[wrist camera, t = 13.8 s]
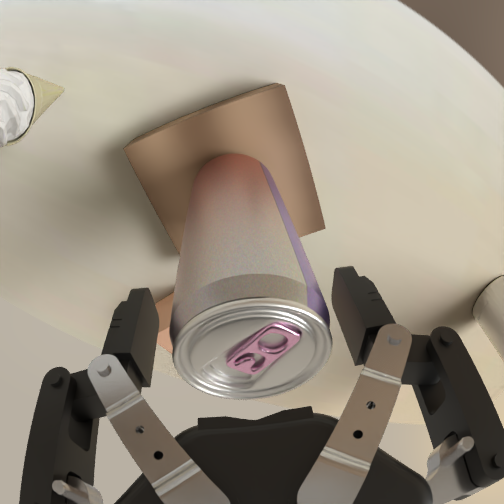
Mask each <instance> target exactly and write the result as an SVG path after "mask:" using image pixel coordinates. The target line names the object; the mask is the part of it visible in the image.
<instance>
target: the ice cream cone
mask: <svg viewBox="0 0 504 504" xmlns="http://www.w3.org/2000/svg"><path fill="white" fill-rule="evenodd" d="M63 91H64V88H63V87H60V86H58V85H55V84H53V83H50V82H48V81H45V80H43V79H40V78H38V77H35V76H32V75H29V74H26V73H25V72H24V71H22V70H21V69H18V68H15V67H8V68H0V147H3V146H9V145H13V144H15V143H17V142H19V141H20V140H21V139H22V138H23V137H24V136H25V135H26V134H27V133H28V131H29V129H30V127H31V125H32V124H34V122H35V121H36V120H37V119H38V118H39V117H40V116H41V115H42V113H43V112H44V111H45V110H46V109H47V108H48V107H49V106H50V105H51V104H52V103H53V102H54V101H55V100H56V99H57V98H58V97H59V96H60V95H61V94H62V93H63Z"/></svg>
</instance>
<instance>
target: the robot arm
mask: <svg viewBox="0 0 504 504" xmlns="http://www.w3.org/2000/svg"><path fill="white" fill-rule="evenodd" d="M332 305H333V309H334V311H335V314H336V316H337V319H338V321H339V324H340V327H341V329H342V332H343V334H344V337H345V340H346V342H347V345H348V348H349V350H350V353H351V356H352V358H353V361H354V364H355V366H357V365H361V364H364V366H365V367H364V369H363V370H362V372H361V374H360V377H359V379H358V381H357V383H356V386H355V388H354V390H353V392H352V394H351V396H350V398H349V401H348V403H347V405H346V407H345V409H344V411H343V413H342V415H341V417H340V419H339V420H338V419H336V418H333V417H331V416H328V415H324V414H319V413H313V411H312V407H311V406H308V407H302V408H296V409H289V410H283V411H281V412H278V413H275V414H272V415H270V416H267V417H264V418H261V419H258V420H247V419H239V418H232V417H226V416H225V417H208V418H198V425H197V426H194V427H191V428H189V429H187V430H185V431H183V432H181V433H180V434H179V435H177V436H176V437H175V438H174V437H173V436H172V435H171V434H170V432H169V431H168V430H167V429H166V427H165V426H164V425H163V424H162V422H161V421H160V420H159V418H158V417H157V416H156V414H155V413H154V412H153V410H152V409H151V408H150V406H149V405H148V403H147V402H146V401H145V399H144V398H143V397H142V395H141V389H142V387H150V385H151V378H152V370H153V363H154V357H155V350H156V344H157V337H158V331H159V315H158V312H157V309H156V306H155V303H154V301H153V298H152V295H151V292H150V290H149V288H139V289H131V291H130V294H129V297H128V300H127V301H122V302H121V303H120V304H119V306H118V307H117V308H116V309H115V311H114V314H113V317H112V321H111V324H110V328H109V330H108V333H107V337H106V340H105V343H104V347H103V350H102V354H101V355H100V356H98V357H96V358H95V359H94V360H92V362H91V363H90V364H89V367H88V369H86V370H83V371H79V372H76V373H72V374H70V373H69V371H68V370H67V369H65V368H63V367H56V368H53V369H51V370H50V371H49V372H48V373H47V374H46V375H45V377H44V379H43V382H42V385H41V389H40V393H39V396H38V400H37V404H36V408H35V412H34V416H33V421H32V425H31V430H30V435H29V439H28V444H27V450H26V456H25V462H24V468H23V476H22V483H21V491H20V501H19V504H103V499H102V496H101V494H100V492H99V491H98V490H97V489H96V488H95V487H93V484H94V467H95V454H96V444H97V435H98V426H99V418H100V417H104V416H107V417H108V419H109V420H110V422H111V424H112V426H113V427H114V429H115V431H116V432H117V434H118V436H119V437H120V439H121V441H122V442H123V444H124V445H125V447H126V448H127V450H128V452H129V453H130V454H131V456H132V458H133V459H134V460H135V462H136V464H137V465H138V466H139V468H140V469H141V471H142V472H143V473H142V474H141V476H140V477H139V478H138V479H137V480H136V481H135V482H134V483H133V484H132V485H131V486H130V487H129V489H128V490H127V491H126V492H125V493H124V494H123V495H122V496H121V497H120V498H119V499H118V500H117V501H116V502H115V503H114V504H444V503H447V502H449V501H451V500H462V499H464V498H467V497H469V496H471V495H473V494H475V493H477V492H479V491H480V490H482V489H484V488H486V487H488V486H490V485H492V484H494V483H495V482H497V481H499V480H501V479H502V478H504V428H503V426H502V423H501V421H500V419H499V416H498V414H497V411H496V409H495V407H494V405H493V402H492V400H491V398H490V396H489V393H488V391H487V389H486V387H485V385H484V383H483V381H482V379H481V377H480V375H479V373H478V371H477V369H476V367H475V365H474V363H473V361H472V359H471V357H470V355H469V353H468V351H467V349H466V348H465V346H464V344H463V342H462V340H461V338H460V337H459V335H458V334H457V333H456V332H455V331H454V330H453V329H451V328H448V327H438V328H436V329H434V330H433V331H432V333H431V335H430V336H426V335H413V334H410V332H409V331H408V330H407V329H406V328H405V327H403V326H401V325H399V324H396V322H395V321H394V319H393V317H392V315H391V313H390V311H389V310H388V308H387V306H386V304H385V302H384V301H383V300H382V297H381V295H380V294H379V293H378V290H377V288H376V287H375V285H374V283H373V282H372V281H370V280H369V279H368V278H367V277H365V276H361V277H359V276H358V274H357V272H356V271H355V269H354V267H353V266H348V267H340V268H336V269H335V271H334V279H333V287H332ZM473 316H474V318H475V319H476V321H477V322H478V323H479V325H480V326H481V328H482V329H483V331H484V332H485V334H486V335H487V337H488V338H489V340H490V341H491V343H492V344H493V346H494V347H495V349H496V350H497V352H498V353H499V355H500V357H501V358H502V360H503V361H504V276H501V277H499V278H497V279H496V280H494V281H493V282H492V283H491V284H489V285H488V286H487V287H486V288H485V290H484V291H483V292H482V293H481V295H480V296H479V298H478V299H477V301H476V303H475V305H474V308H473ZM401 384H408V385H412V387H413V389H414V392H415V395H416V398H417V400H418V403H419V406H420V409H421V412H422V415H423V417H424V420H425V423H426V426H427V429H428V432H429V435H430V439H431V442H432V445H433V448H434V450H433V451H432V452H431V453H430V455H429V458H428V461H427V467H428V474H427V477H426V479H424V478H423V477H422V476H421V475H420V474H418V473H416V472H415V471H413V470H412V469H410V468H408V467H407V466H405V465H404V464H402V463H401V462H399V461H398V460H396V459H395V458H393V457H392V456H390V455H389V454H387V453H386V452H384V451H383V450H382V449H380V448H379V447H378V446H379V444H380V442H381V439H382V437H383V434H384V431H385V429H386V427H387V424H388V421H389V419H390V416H391V413H392V411H393V408H394V405H395V402H396V399H397V396H398V393H399V390H400V387H401Z"/></svg>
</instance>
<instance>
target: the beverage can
mask: <svg viewBox="0 0 504 504" xmlns="http://www.w3.org/2000/svg"><path fill="white" fill-rule="evenodd" d="M329 327H330V316H329V311H328V308H327V306H326V303H325V301H324V298H323V296H322V293H321V291H320V288H319V285H318V283H317V280H316V278H315V276H314V273H313V271H312V268H311V266H310V263H309V261H308V258H307V256H306V254H305V251H304V249H303V246H302V244H301V242H300V239H299V237H298V234H297V232H296V230H295V227H294V225H293V223H292V220H291V218H290V216H289V213H288V211H287V209H286V206H285V204H284V202H283V200H282V197H281V195H280V193H279V191H278V188H277V186H276V184H275V182H274V179H273V177H272V175H271V173H270V172H269V170H268V169H267V168H266V167H265V166H264V165H263V164H262V163H261V162H260V161H258V160H257V159H255V158H253V157H250V156H248V155H244V154H226V155H222V156H219V157H216V158H214V159H212V160H211V161H209V162H208V163H206V164H205V165H204V166H203V167H202V168H201V169H200V171H199V172H198V174H197V175H196V177H195V180H194V182H193V187H192V192H191V197H190V202H189V207H188V212H187V218H186V223H185V229H184V234H183V240H182V246H181V252H180V258H179V264H178V270H177V277H176V284H175V290H174V297H173V305H172V312H171V320H170V328H169V335H170V340H171V344H172V347H173V350H172V358H173V363H174V366H175V368H176V370H177V372H178V373H179V375H180V376H181V377H182V378H183V379H184V380H185V381H186V382H187V383H188V384H190V385H191V386H192V387H194V388H196V389H198V390H200V391H202V392H204V393H207V394H210V395H213V396H217V397H221V398H227V399H238V400H239V399H240V400H251V399H261V398H267V397H272V396H276V395H279V394H282V393H285V392H288V391H290V390H293V389H295V388H297V387H299V386H301V385H303V384H304V383H306V382H307V381H309V380H310V379H312V378H313V377H314V376H315V375H316V374H317V373H319V372H320V370H321V369H322V368H323V367H324V366H325V364H326V363H327V361H328V359H329V357H330V354H331V351H332V335H331V332H330V329H329Z"/></svg>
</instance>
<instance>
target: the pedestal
mask: <svg viewBox="0 0 504 504" xmlns="http://www.w3.org/2000/svg"><path fill="white" fill-rule="evenodd" d="M124 151H125V153H126V155H127V157H128V159H129V161H130V163H131V165H132V167H133V169H134V171H135V173H136V175H137V177H138V179H139V181H140V183H141V185H142V187H143V188H144V190H145V192H146V194H147V196H148V198H149V200H150V202H151V204H152V205H153V207H154V209H155V211H156V213H157V215H158V217H159V218H160V220H161V222H162V224H163V226H164V227H165V229H166V231H167V233H168V235H169V236H170V238H171V240H172V242H173V244H174V245H175V247H176V249H177V251H178V252H179V254H180V252H181V246H182V240H183V234H184V229H185V223H186V218H187V212H188V207H189V202H190V197H191V192H192V187H193V182H194V180H195V177H196V175H197V174H198V172H199V171H200V169H201V168H202V167H203V166H204V165H205V164H206V163H208V162H209V161H211V160H212V159H214V158H216V157H219V156H222V155H226V154H244V155H248V156H250V157H253V158H255V159H257V160H258V161H260V162H261V163H262V164H263V165H264V166H265V167H266V168H267V169H268V170H269V172H270V173H271V175H272V177H273V179H274V182H275V184H276V186H277V188H278V191H279V193H280V195H281V197H282V200H283V202H284V204H285V206H286V209H287V211H288V213H289V216H290V218H291V220H292V223H293V225H294V227H295V230H296V232H297V234H298V237H302V236H305V235H308V234H311V233H314V232H317V231H320V230H323V229H325V224H324V220H323V216H322V212H321V208H320V204H319V200H318V196H317V192H316V188H315V184H314V181H313V177H312V173H311V170H310V166H309V163H308V159H307V156H306V152H305V149H304V145H303V142H302V138H301V135H300V132H299V128H298V125H297V122H296V119H295V116H294V112H293V109H292V106H291V103H290V100H289V97H288V94H287V91H286V88H285V85H282V84H279V83H275V84H272V85H269V86H266V87H262V88H259V89H256V90H253V91H250V92H247V93H244V94H241V95H238V96H235V97H232V98H230V99H227V100H224V101H221V102H219V103H216V104H213V105H211V106H208V107H206V108H203V109H200V110H198V111H195V112H193V113H191V114H188V115H186V116H183V117H181V118H179V119H176V120H174V121H172V122H169V123H167V124H165V125H163V126H160V127H158V128H156V129H154V130H152V131H150V132H148V133H145V134H143V135H141V136H139V137H137V138H135V139H133V140H132V141H131V142H130V143H129V144H128V145H127V146H126V147H125V148H124Z"/></svg>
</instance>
